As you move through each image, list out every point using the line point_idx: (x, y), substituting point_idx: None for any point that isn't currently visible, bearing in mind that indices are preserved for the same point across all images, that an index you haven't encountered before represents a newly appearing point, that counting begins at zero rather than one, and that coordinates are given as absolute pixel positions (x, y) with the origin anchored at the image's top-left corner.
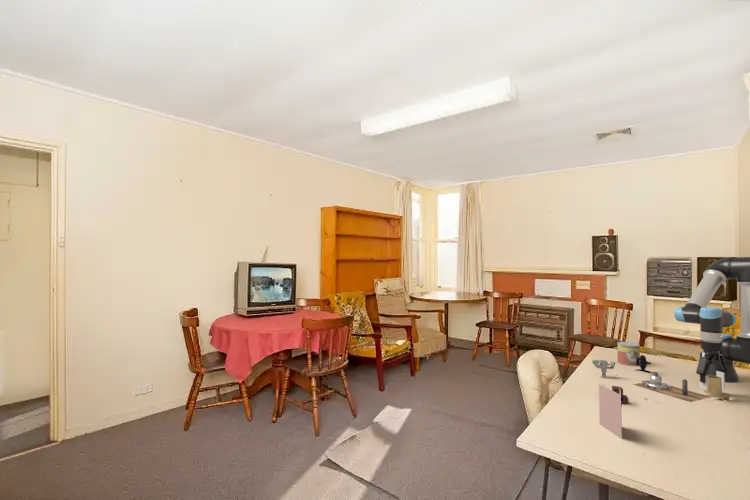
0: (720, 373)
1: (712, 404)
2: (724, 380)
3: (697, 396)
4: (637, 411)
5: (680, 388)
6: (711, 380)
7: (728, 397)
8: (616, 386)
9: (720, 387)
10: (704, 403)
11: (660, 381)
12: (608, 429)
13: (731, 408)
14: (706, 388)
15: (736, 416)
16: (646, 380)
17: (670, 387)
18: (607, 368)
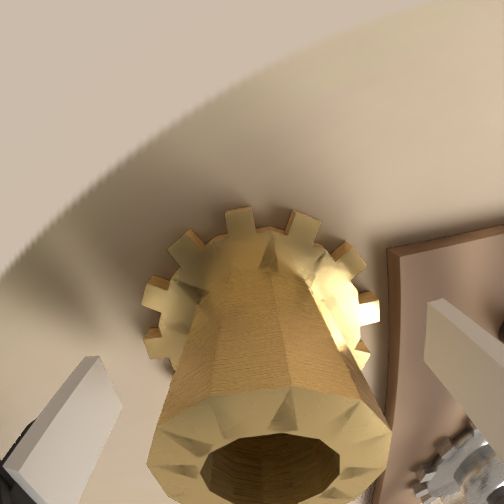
0: (48, 481)
1: (469, 178)
2: (54, 397)
3: (484, 286)
4: None
5: (396, 438)
6: (375, 399)
7: (193, 236)
8: None
9: (256, 307)
10: (494, 210)
11: (497, 458)
12: None
13: (420, 75)
14: (454, 311)
15: (499, 15)
16: (449, 497)
17: (473, 426)
18: None
